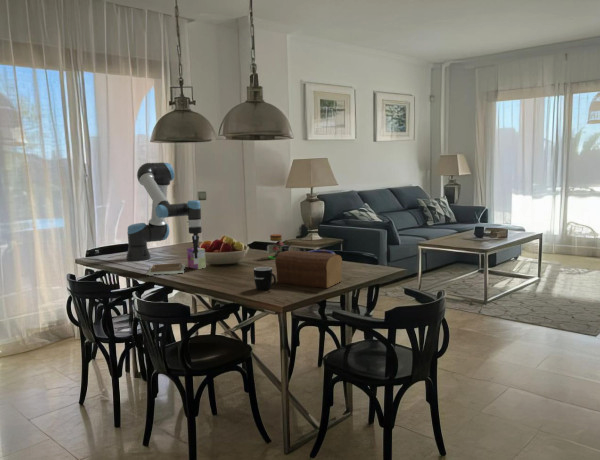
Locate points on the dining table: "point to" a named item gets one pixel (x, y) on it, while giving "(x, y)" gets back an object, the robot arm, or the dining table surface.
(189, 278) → the dining table surface
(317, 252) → the bowl
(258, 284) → the mug
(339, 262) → the wooden bread box
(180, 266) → the white shallow tray
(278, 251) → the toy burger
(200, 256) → the box
